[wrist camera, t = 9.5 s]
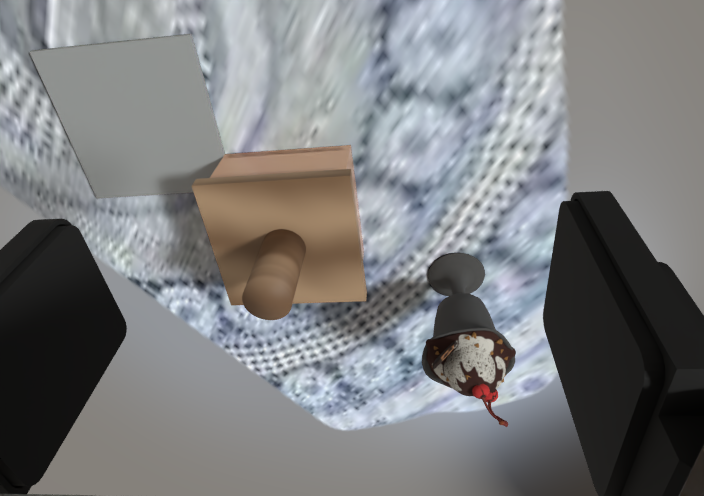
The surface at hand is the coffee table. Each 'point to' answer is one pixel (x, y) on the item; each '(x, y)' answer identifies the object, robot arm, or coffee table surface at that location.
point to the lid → (284, 238)
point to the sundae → (465, 334)
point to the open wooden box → (289, 164)
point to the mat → (135, 113)
